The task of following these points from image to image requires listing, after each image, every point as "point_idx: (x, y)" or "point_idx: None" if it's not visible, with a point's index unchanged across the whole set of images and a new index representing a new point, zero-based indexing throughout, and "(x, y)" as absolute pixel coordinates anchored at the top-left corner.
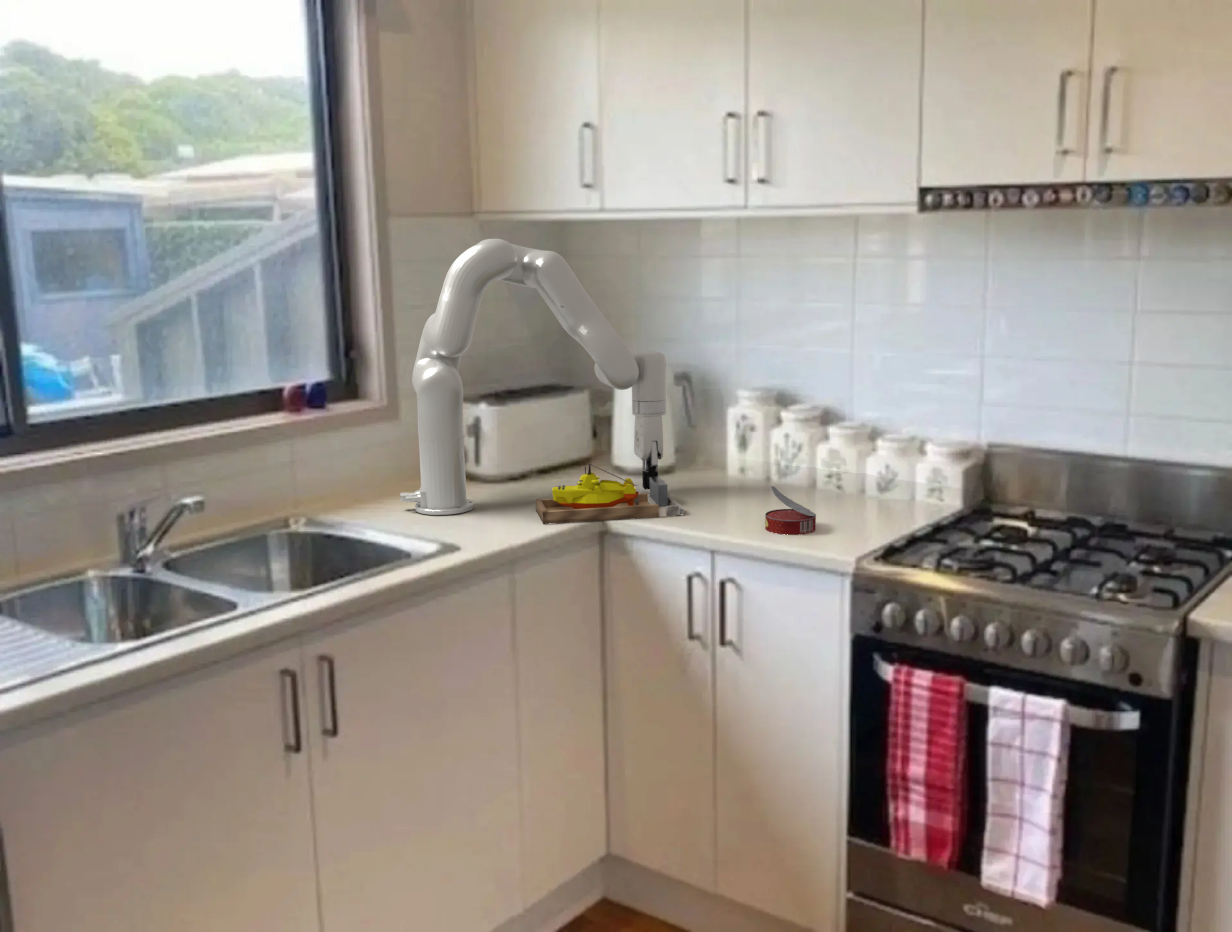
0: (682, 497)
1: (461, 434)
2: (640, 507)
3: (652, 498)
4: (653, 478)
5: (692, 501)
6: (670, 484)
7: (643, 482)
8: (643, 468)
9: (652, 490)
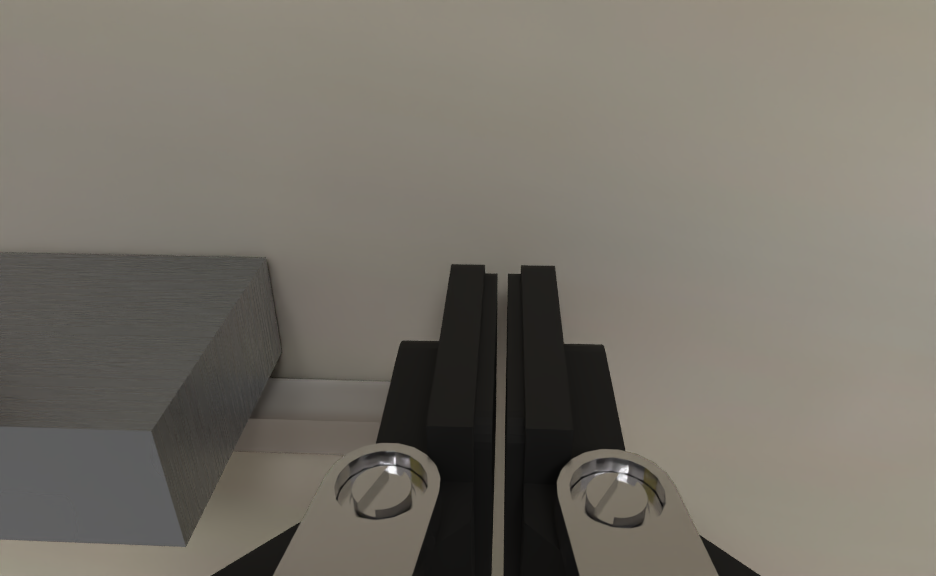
0: (228, 525)
1: None
2: None
3: (103, 260)
4: (8, 456)
5: (56, 553)
6: (855, 564)
7: (525, 309)
8: (570, 483)
9: (32, 316)
